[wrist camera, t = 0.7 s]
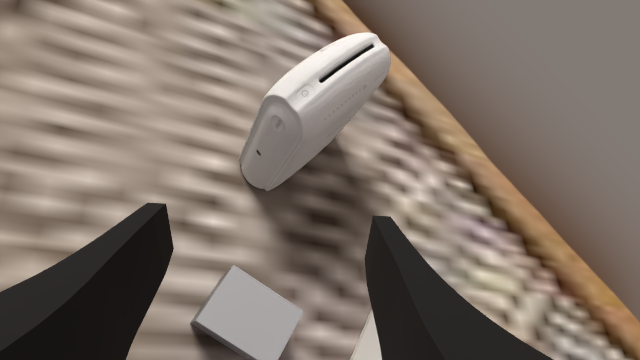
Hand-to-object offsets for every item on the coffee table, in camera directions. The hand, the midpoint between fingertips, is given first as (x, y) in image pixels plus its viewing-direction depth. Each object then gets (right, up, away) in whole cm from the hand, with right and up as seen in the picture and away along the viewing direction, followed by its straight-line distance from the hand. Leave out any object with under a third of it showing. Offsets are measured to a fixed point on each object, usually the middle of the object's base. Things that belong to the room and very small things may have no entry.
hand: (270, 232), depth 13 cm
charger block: (-4, -8, +13) cm, 16 cm away
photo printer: (-1, +4, +20) cm, 20 cm away
